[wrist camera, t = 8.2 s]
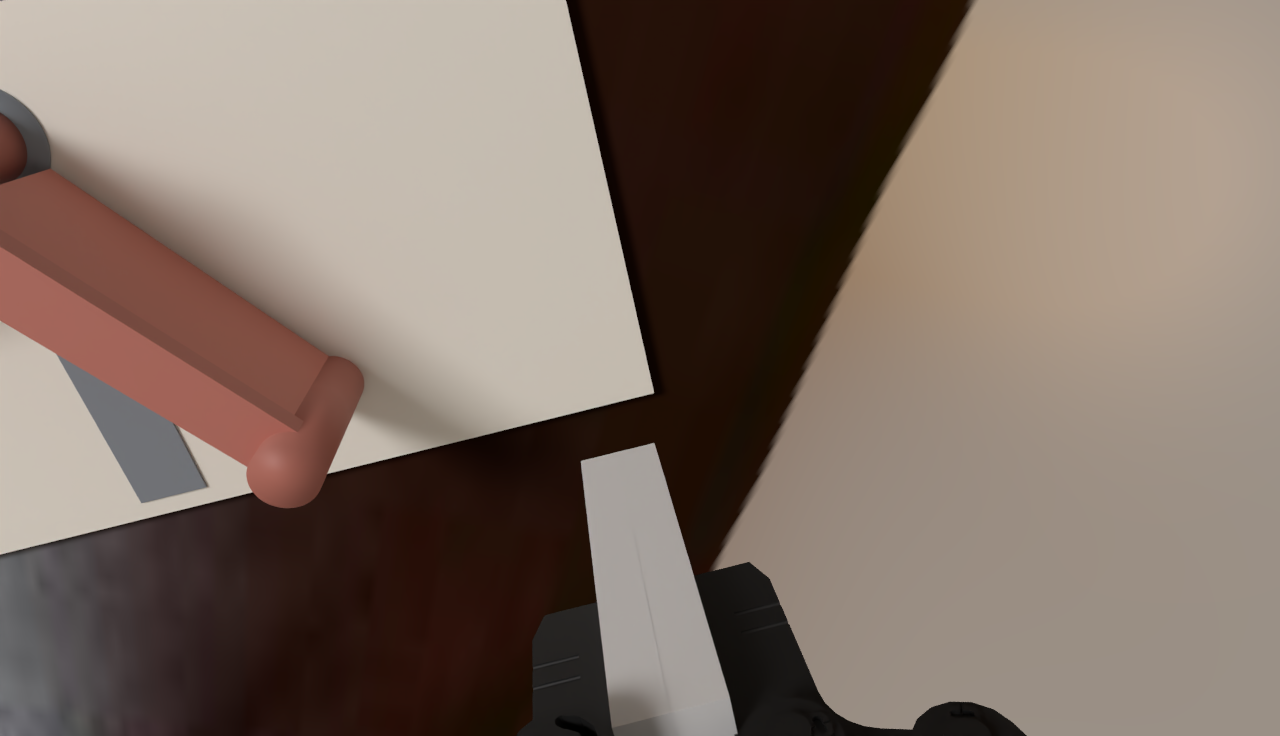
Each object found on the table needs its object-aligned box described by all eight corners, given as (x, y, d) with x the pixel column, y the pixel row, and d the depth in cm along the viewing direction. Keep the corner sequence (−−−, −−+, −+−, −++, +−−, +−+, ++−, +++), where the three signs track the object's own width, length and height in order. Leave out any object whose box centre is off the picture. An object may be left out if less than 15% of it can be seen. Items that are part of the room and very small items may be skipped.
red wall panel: (22, 210, 25) (-135, 270, 19) (55, 161, 24) (-94, 206, 18) (342, 417, 29) (295, 520, 23) (376, 378, 28) (336, 472, 22)
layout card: (-569, 131, 23) (-596, 134, 22) (538, -117, 24) (538, -121, 23) (-185, 593, 30) (-198, 604, 29) (652, 387, 31) (654, 394, 30)
